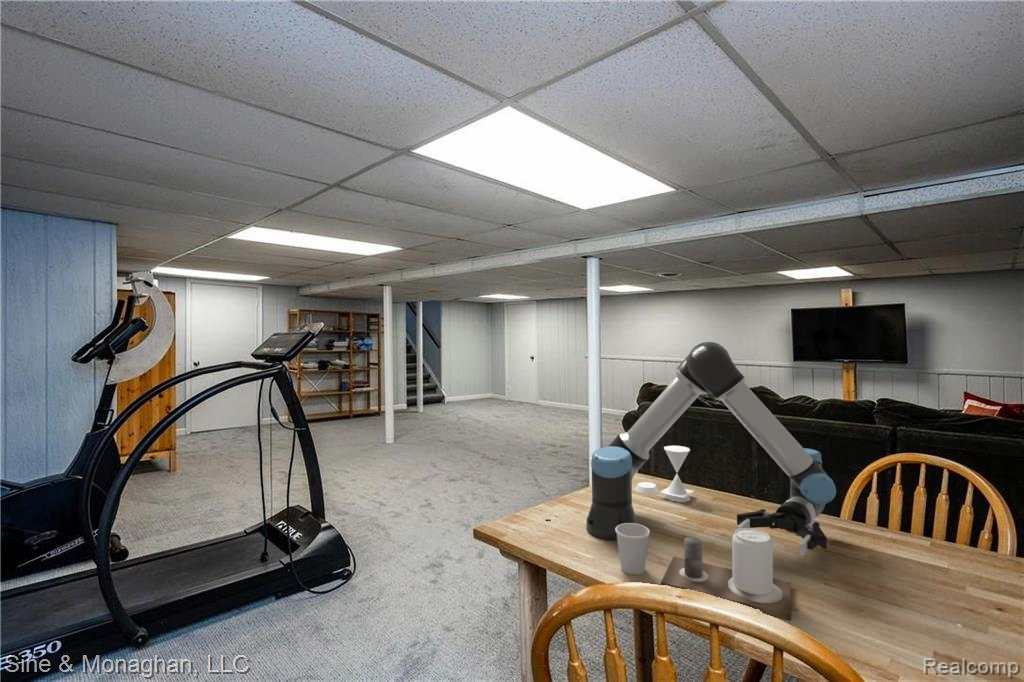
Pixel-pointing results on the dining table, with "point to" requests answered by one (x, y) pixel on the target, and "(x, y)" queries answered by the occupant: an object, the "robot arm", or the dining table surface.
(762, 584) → the beverage can
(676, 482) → the white plastic pieces
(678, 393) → the robot arm
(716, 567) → the board
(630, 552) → the dixie cup
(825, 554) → the dining table surface
